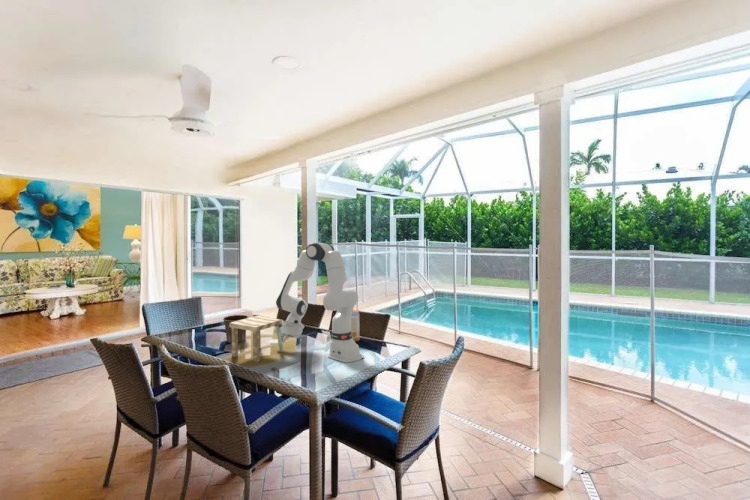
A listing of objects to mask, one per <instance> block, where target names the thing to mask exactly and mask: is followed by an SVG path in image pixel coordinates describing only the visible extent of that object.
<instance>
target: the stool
mask: <svg viewBox="0 0 750 500" xmlns="http://www.w3.org/2000/svg"><path fill="white" fill-rule="evenodd" d="M283 321H284V319H282V318H276V317H269V316H261V315H256V316H251V317H248V318H247V319H243V320H239V321H235V322H231V323H229V327H231V328H232V343H231V357H234V358H236V357H238V356H239V345H238V344H239V342H238V329H243V330H246V331H249V332H252V362H255V363H259V362H260V349H261V347H262V346H261V343H262V342H261V338H262V337H261V331H262V330H266V329H269V328H273V327H274V328H275V327H276V325H279V327H282V324H283Z"/></svg>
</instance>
